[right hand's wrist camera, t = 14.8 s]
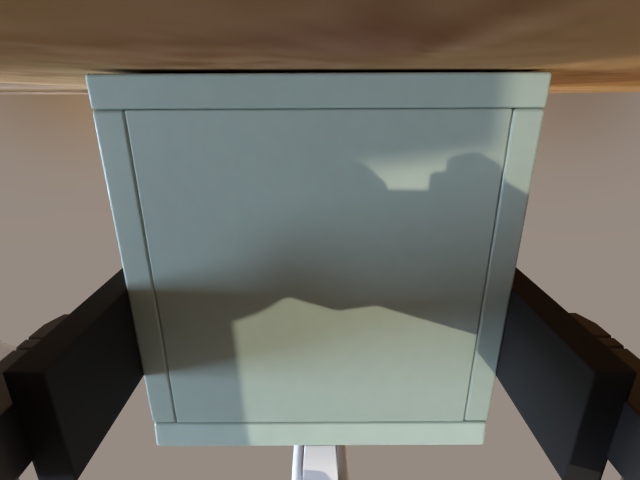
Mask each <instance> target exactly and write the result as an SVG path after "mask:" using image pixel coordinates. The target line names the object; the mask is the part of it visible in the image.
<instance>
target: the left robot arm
mask: <svg viewBox="0 0 640 480" xmlns="http://www.w3.org/2000/svg"><path fill="white" fill-rule="evenodd" d="M16 347H18V346H15V345H11V344H8V343H5V342H3V341H1V340H0V361H1V360H2V359H3V358H4V357H6V356H7V355H8V354H9V353H10V352H12V351H13V350H16ZM292 480H349V472H348V460H347V448H346V445H294V454H293V470H292Z"/></svg>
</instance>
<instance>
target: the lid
mask: <svg viewBox="0 0 640 480" xmlns="http://www.w3.org/2000/svg"><path fill="white" fill-rule="evenodd" d="M485 429H486V421H485V420H465V419H464V420H463V421H374V422H177V421H175V422H155V433H156V440H157V445H159V446H233V445H235V446H237V445H443V444H483V443H484V437H485Z"/></svg>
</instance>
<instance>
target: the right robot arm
mask: <svg viewBox="0 0 640 480" xmlns="http://www.w3.org/2000/svg"><path fill="white" fill-rule="evenodd" d="M143 375H144V373H143V368H142V363H141V358H140V353H139V348H138V342H137V337H136V332H135V327H134V322H133V317H132V312H131V307H130V302H129V296H128V291H127V286H126V281H125V276H124V271H123V268H122V269H121V270H120V271H119V272H118V273H116V274H115V275H114V276H113V277H112V278H111V279H110V280H108V281H107V282H106V283H105V284H104V285H103V286H101V287H100V288H99V289H98V290H97V291H96V292H95V293H93V294H92V295H91V296H90V297H89V298H88V299H87V300H85V301H84V302H83V303H82V304H81V305H80V306H78V307H77V308H76V309H75V310H74V311H73V312H72V313H70V314H64V315H62V316H60V317H58V318H56V319H54V320H52V321H50V322H49V323H47V324H45V325H43V326H42V327H41V328H39V329H38V330H37V331H36V332H35V333H33V334H32V335H31V336H30V337H29V340H25V341H24V342H22V343H21V344H20V345H19V346H18V347H16V350H13V351H12V352H10V353H9V354H8V355H7V356H6V357H4V358H3V359H2V360H1V361H0V480H19V477H20V475H21V474H22V473H23V471H24V470H25V469H26V468H27V466H28V465H29V464H30V463H31V461H32V462H33V465H34V468H35V471H36V473H37V476H38V479H39V480H78V478H79V477H80V475H81V473H82V472H83V470H84V469H85V467H86V465H87V464H88V462H89V461H90V459H91V458H92V456H93V454H94V453H95V451H96V450H97V448H98V446H99V445H100V443H101V442H102V440H103V439H104V437H105V435H106V434H107V432H108V431H109V429H110V428H111V426H112V424H113V423H114V421H115V419H116V418H117V416H118V415H119V413H120V412H121V410H122V408H123V407H124V405H125V404H126V402H127V401H128V399H129V397H130V396H131V394H132V393H133V391H134V389H135V388H136V386H137V385H138V383H139V382H140V380H141V378H142V377H143ZM496 376H497V378H498V379H499V381H500V382H501V384H502V386H503V387H504V389H505V390H506V392H507V393H508V395H509V396H510V398H511V400H512V401H513V403H514V405H515V406H516V408H517V409H518V411H519V412H520V414H521V416H522V417H523V419H524V420H525V422H526V424H527V425H528V427H529V428H530V430H531V431H532V433H533V435H534V436H535V438H536V439H537V441H538V443H539V444H540V446H541V447H542V449H543V450H544V452H545V454H546V455H547V457H548V458H549V460H550V461H551V463H552V465H553V466H554V468H555V469H556V471H557V473H558V474H559V476H560V477H561V479H562V480H601V477H602V475H603V472H604V469H605V466H606V463H607V460H609V461H610V462H611V464H612V465H613V466H614V467H615V469H616V470H617V471H618V472H619V474H620V475H621V476H622V477H621V480H640V359H639V358H637V357H636V356H635V355H634V354H633V353H631V352H630V351H629V350H628V349H624V347H623V345H622V344H620V343H619V342H618V341H617V340H616V339H614V338H611V335H609V334H608V333H607V332H606V331H605V330H603V329H602V328H601V327H600V326H598V325H597V324H596V323H594V322H592V321H590V320H588V319H586V318H584V317H582V316H580V315H579V314H577V313H568V312H567V311H566V310H564V309H563V308H562V307H561V306H560V305H559V304H558V303H556V302H555V301H554V300H553V299H552V298H551V297H550V296H548V295H547V294H546V293H545V292H544V291H543V290H541V289H540V288H539V287H538V286H537V285H536V284H535V283H533V282H532V281H531V280H530V279H529V278H528V277H527V276H525V275H524V274H523V273H522V272H521V271H520V270H518V269H517V268H516V269H515V274H514V279H513V285H512V290H511V296H510V301H509V306H508V312H507V317H506V323H505V328H504V334H503V339H502V344H501V350H500V355H499V361H498V366H497V371H496Z"/></svg>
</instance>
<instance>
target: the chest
mask: <svg viewBox="0 0 640 480" xmlns="http://www.w3.org/2000/svg"><path fill="white" fill-rule="evenodd" d="M551 76H552V75H551V73H550V72H368V73H149V74H87V75H86V77H85V78H86V83H87V88H88V93H89V98H90V103H91V107H92V109H95V111H93V117H94V123H95V128H96V133H97V138H98V143H99V148H100V153H101V158H102V163H103V168H104V174H105V179H106V184H107V189H108V194H109V199H110V204H111V209H112V215H113V220H114V225H115V230H116V235H117V240H118V245H119V250H120V255H121V260H122V266H123V271H124V276H125V281H126V286H127V291H128V296H129V302H130V307H131V312H132V317H133V322H134V327H135V332H136V337H137V342H138V348H139V353H140V358H141V363H142V368H143V373H144V378H145V383H146V388H147V394H148V399H149V404H150V409H151V414H152V419H153V421H154V422H175V421H177V422H374V421H463V420H464V419H465V420H487V419H488V415H489V409H490V404H491V399H492V393H493V388H494V382H495V377H496V371H497V366H498V361H499V355H500V350H501V344H502V339H503V334H504V328H505V323H506V317H507V312H508V306H509V301H510V296H511V290H512V285H513V279H514V274H515V269H516V263H517V258H518V252H519V247H520V241H521V236H522V231H523V225H524V220H525V214H526V209H527V204H528V198H529V193H530V187H531V182H532V176H533V171H534V166H535V160H536V155H537V149H538V144H539V138H540V133H541V128H542V122H543V117H544V109H542V108H543V107H545V106H546V103H547V97H548V92H549V86H550V81H551Z"/></svg>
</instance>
